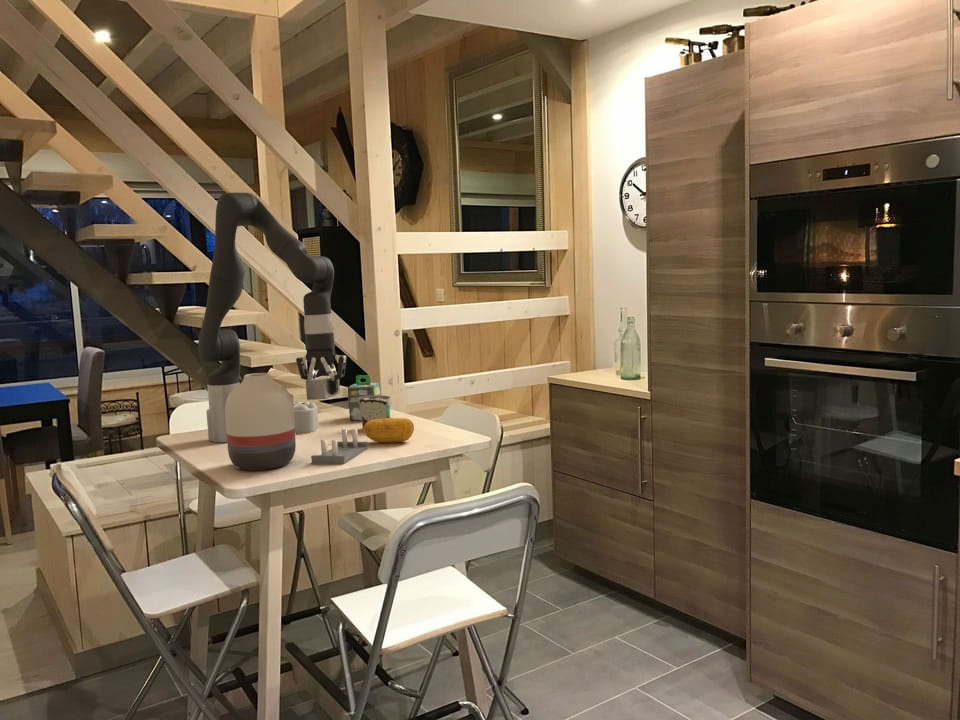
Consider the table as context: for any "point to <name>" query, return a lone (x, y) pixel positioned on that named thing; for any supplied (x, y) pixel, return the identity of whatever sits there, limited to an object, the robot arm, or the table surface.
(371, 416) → the food container
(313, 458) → the grey pegged block
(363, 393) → the chalk box
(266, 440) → the vase
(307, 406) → the lumpy-topped squat cylinder
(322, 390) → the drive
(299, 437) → the table surface
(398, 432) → the potato
